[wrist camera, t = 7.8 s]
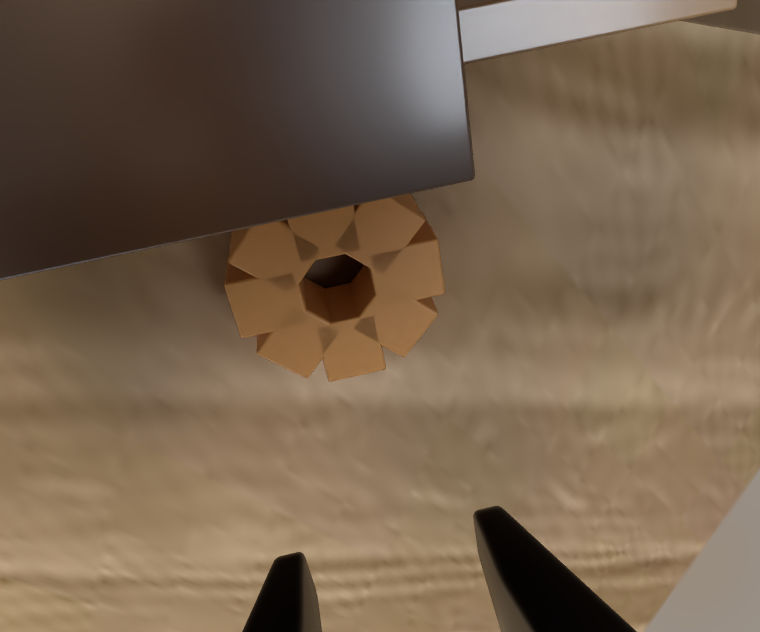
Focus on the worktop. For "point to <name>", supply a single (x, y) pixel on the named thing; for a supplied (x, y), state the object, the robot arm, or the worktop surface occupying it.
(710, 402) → the worktop surface
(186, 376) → the worktop surface
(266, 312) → the wooden gear wheel
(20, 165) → the cabinet
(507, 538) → the robot arm
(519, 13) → the drawer
